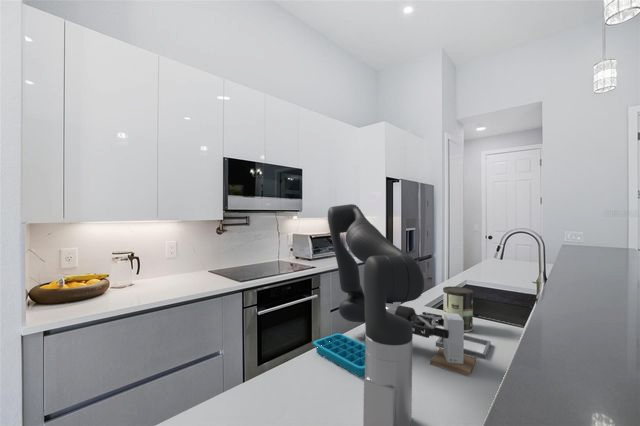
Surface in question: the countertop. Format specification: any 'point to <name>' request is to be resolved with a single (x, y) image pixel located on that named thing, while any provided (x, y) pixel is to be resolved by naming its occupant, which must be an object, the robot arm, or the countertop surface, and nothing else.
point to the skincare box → (454, 338)
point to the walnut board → (459, 368)
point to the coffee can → (459, 304)
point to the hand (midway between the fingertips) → (452, 329)
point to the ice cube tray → (343, 352)
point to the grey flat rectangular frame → (470, 352)
